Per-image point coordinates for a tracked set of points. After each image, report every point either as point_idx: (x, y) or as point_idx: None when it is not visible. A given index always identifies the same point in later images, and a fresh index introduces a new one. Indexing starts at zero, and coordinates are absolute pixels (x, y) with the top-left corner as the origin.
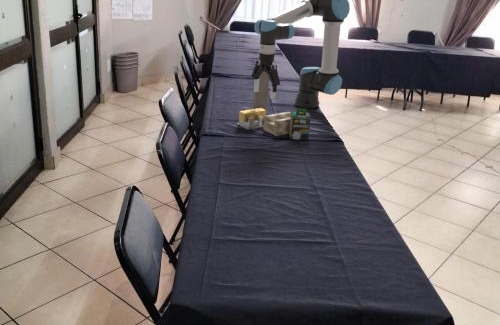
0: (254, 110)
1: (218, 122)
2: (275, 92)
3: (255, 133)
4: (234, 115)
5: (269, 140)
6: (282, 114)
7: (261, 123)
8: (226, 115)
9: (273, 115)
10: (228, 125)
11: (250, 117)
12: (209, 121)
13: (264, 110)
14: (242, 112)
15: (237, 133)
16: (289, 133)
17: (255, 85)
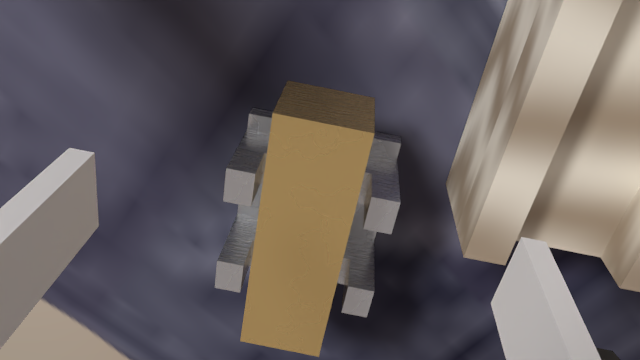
0: (300, 234)
1: (129, 291)
2: (575, 313)
3: (449, 276)
4: (26, 90)
5: (605, 307)
6: (590, 72)
7: (396, 171)
8: (4, 143)
9: (528, 188)
10: (214, 287)
11: (353, 300)
12: (86, 314)
13: (365, 156)
14: (282, 346)
15: (366, 347)
16: None
17: (37, 293)
